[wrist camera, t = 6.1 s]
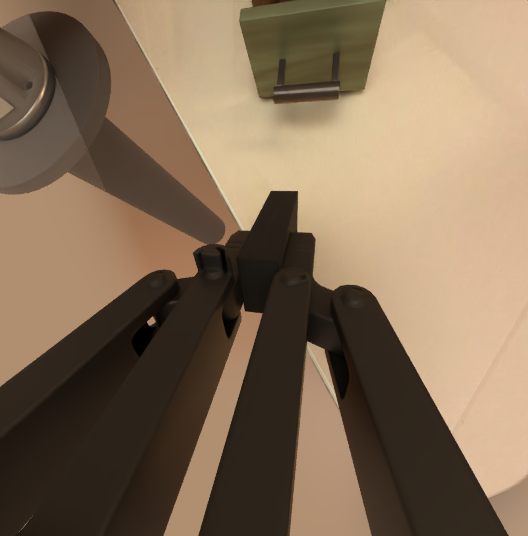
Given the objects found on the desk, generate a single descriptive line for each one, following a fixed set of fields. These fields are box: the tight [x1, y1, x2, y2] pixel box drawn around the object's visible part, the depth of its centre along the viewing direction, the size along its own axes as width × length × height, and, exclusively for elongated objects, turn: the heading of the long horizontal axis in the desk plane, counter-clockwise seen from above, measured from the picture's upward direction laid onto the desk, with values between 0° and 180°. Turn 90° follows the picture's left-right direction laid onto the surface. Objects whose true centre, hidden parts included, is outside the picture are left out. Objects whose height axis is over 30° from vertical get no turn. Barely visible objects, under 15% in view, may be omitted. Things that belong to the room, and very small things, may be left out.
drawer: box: [239, 0, 386, 104], centre depth 23 cm, size 18×11×8 cm, turn 174°
